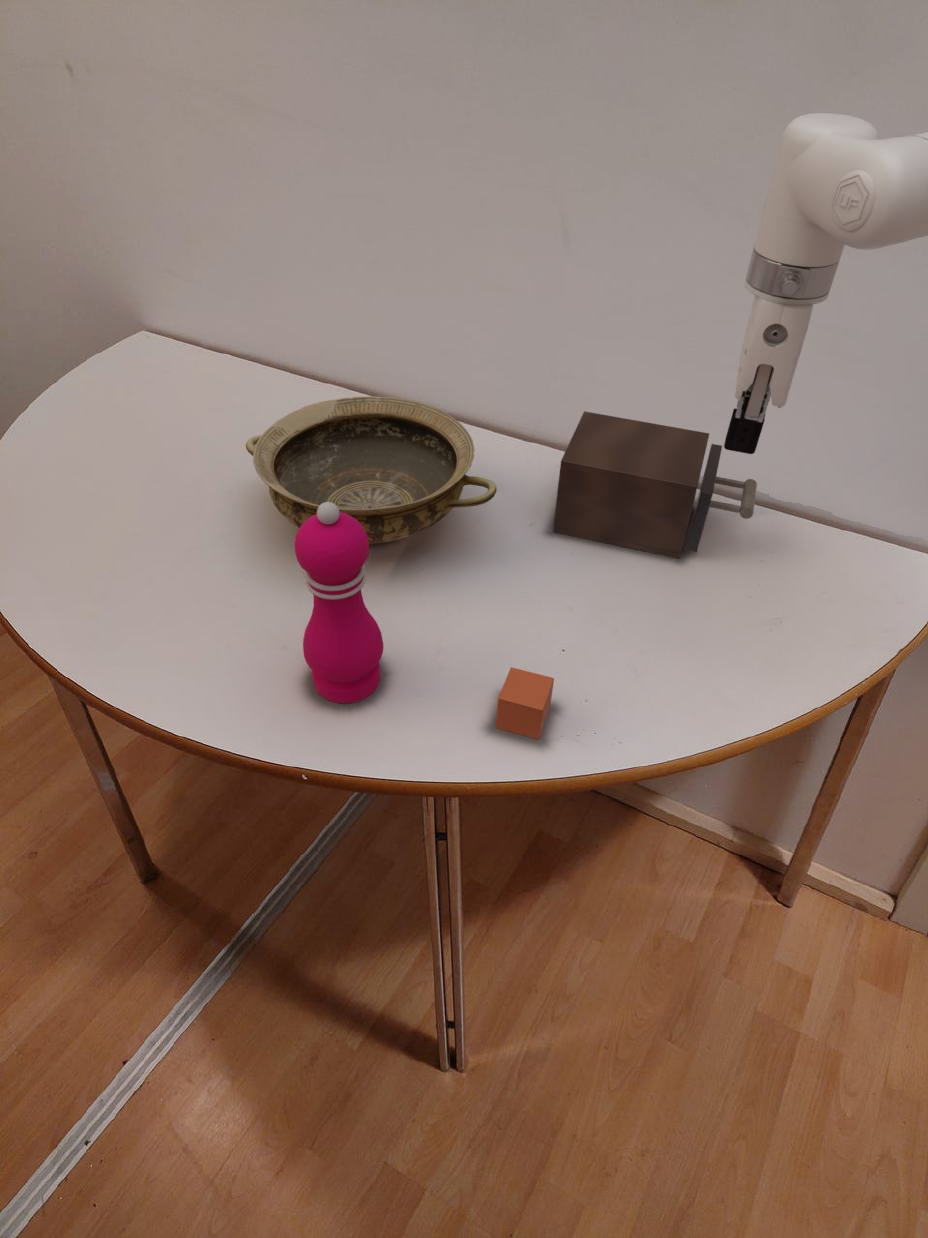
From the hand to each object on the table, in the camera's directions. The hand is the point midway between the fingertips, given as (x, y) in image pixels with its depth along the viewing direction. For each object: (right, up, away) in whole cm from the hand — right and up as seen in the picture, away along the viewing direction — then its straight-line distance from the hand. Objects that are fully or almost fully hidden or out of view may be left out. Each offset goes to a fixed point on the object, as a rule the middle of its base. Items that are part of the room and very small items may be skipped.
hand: (739, 447), depth 87 cm
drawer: (-6, -7, +8) cm, 12 cm away
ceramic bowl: (-40, -7, +9) cm, 42 cm away
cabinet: (-10, -6, +10) cm, 16 cm away
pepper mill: (-40, -24, -10) cm, 48 cm away
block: (-24, -27, -13) cm, 38 cm away
